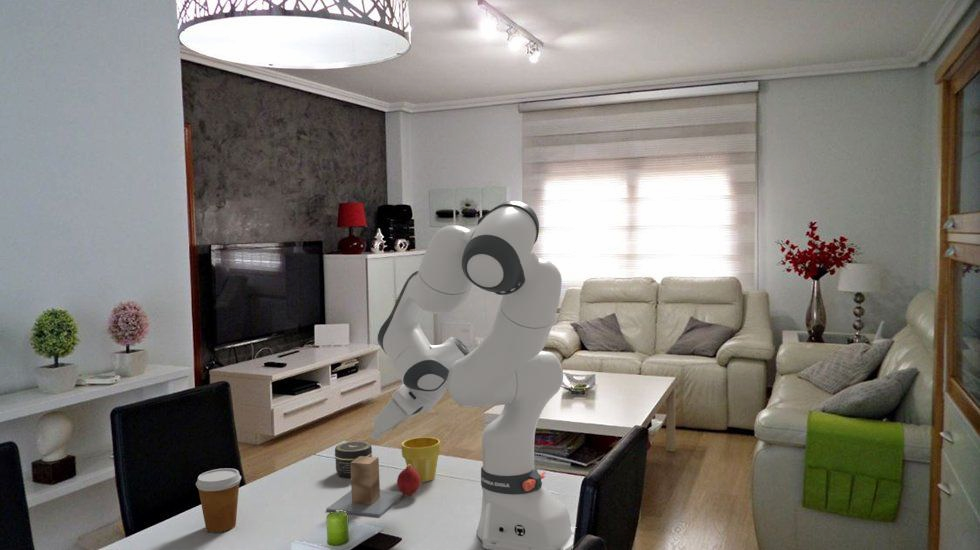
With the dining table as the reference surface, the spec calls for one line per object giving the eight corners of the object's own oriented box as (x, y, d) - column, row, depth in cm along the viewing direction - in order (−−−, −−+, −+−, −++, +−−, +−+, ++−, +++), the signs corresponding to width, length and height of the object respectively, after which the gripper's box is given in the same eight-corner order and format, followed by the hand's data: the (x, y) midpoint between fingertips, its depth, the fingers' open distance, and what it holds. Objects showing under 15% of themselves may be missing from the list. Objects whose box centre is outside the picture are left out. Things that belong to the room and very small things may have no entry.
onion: (416, 501, 166) (416, 469, 166) (393, 500, 167) (394, 467, 167) (423, 492, 172) (423, 461, 172) (401, 491, 173) (401, 460, 173)
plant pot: (396, 476, 184) (394, 441, 184) (430, 469, 190) (429, 434, 189) (413, 488, 176) (412, 450, 175) (448, 479, 181) (447, 442, 181)
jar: (368, 479, 183) (367, 451, 183) (331, 480, 183) (330, 452, 183) (375, 466, 193) (374, 440, 193) (340, 467, 193) (339, 440, 193)
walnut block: (380, 497, 168) (378, 457, 168) (371, 505, 163) (369, 463, 163) (361, 495, 169) (359, 456, 169) (352, 503, 165) (350, 462, 164)
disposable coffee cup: (216, 539, 148) (213, 485, 147) (189, 530, 153) (186, 477, 152) (252, 523, 156) (250, 471, 155) (225, 515, 161) (223, 465, 160)
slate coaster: (405, 494, 171) (405, 492, 171) (380, 516, 158) (380, 514, 158) (355, 489, 175) (355, 487, 175) (326, 511, 162) (326, 508, 162)
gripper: (427, 375, 171) (392, 412, 175) (392, 392, 152) (353, 433, 155) (444, 394, 170) (409, 430, 174) (411, 413, 151) (371, 454, 154)
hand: (382, 432), depth 164 cm, fingers open, 8 cm apart
